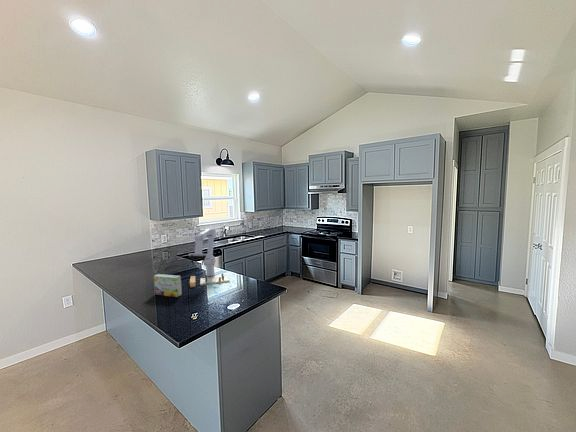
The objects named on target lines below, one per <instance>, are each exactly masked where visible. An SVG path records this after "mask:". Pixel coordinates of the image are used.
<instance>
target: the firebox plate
mask: <svg viewBox="0 0 576 432" xmlns="http://www.w3.org/2000/svg"><path fill="white" fill-rule="evenodd" d="M223 283H224V284H225V283H230V278H229V275H228V274H225V275H224V273H221V275H215V276H206V275H205V276H204V277H200V281H199V285H200V286H208V285H215V284H216V285H217V284H223Z"/></svg>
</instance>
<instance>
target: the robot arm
mask: <svg viewBox="0 0 576 432" xmlns="http://www.w3.org/2000/svg"><path fill="white" fill-rule="evenodd" d="M216 235H217V231H216V228H204V229H203V231H201V232H200V233H198V234H196V235H195V236H194V240H195V241H194V243H195V247H194V248H195V249H194V252H191V253H188V256H189V257H190V259H191V265H192V266H193V265H194V257H202V260H201V261H202V262H201V265H202V266H203V265H204V266H205V270H206V271H205V272H206V273H205V276H207V277H215V276H216V274H215V265H216V262H217V261H216V257H215V256H214V255H213V254H214V241H215V240H214V239H215V238H216V237H217V236H216ZM205 238H206V239H207V241H208V242H207V253H203V246H204V241H205Z"/></svg>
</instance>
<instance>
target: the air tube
mask: <svg viewBox="0 0 576 432" xmlns="http://www.w3.org/2000/svg"><path fill="white" fill-rule="evenodd" d="M196 281H197V279H196V275H191V276H190V279H189V287H190V288H195V287H196Z"/></svg>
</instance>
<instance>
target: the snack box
mask: <svg viewBox="0 0 576 432" xmlns="http://www.w3.org/2000/svg"><path fill="white" fill-rule="evenodd" d="M153 282H154V283H153V285H154V294H155V295H156V296H163V297H164V296H165V297H174V298H178V297H180V296H182V295H183V289H182V276H181V275H175V274H163V273H161V274H160V273H157V274H155V275H153Z"/></svg>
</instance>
